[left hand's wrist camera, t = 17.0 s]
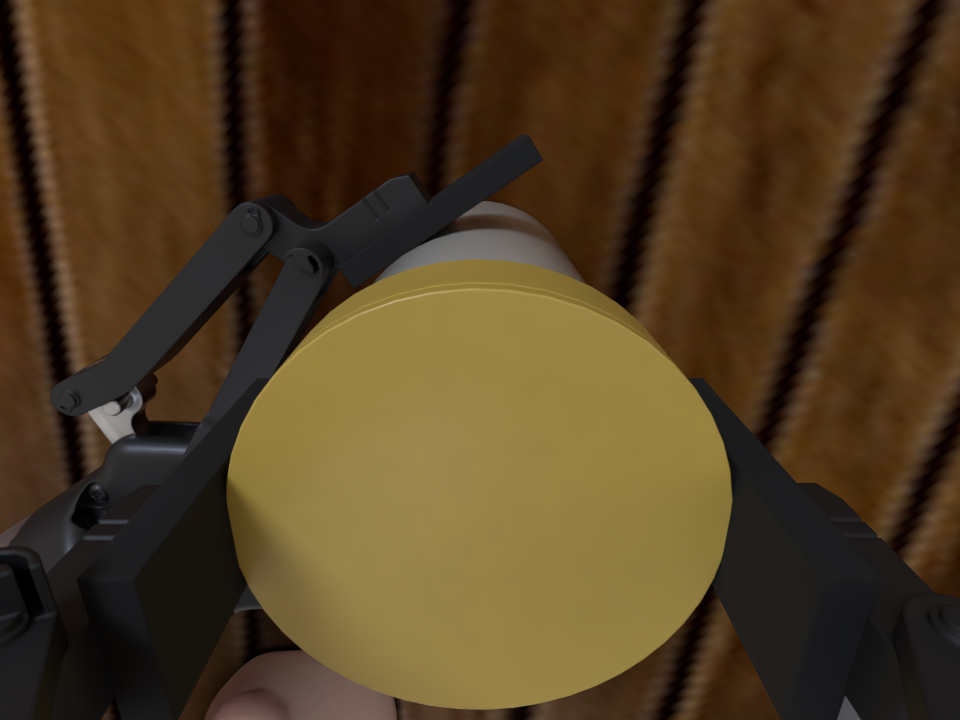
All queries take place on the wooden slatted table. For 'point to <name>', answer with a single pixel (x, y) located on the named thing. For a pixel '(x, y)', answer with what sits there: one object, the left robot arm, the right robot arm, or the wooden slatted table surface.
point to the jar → (489, 242)
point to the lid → (479, 488)
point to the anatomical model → (296, 692)
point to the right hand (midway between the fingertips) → (604, 271)
